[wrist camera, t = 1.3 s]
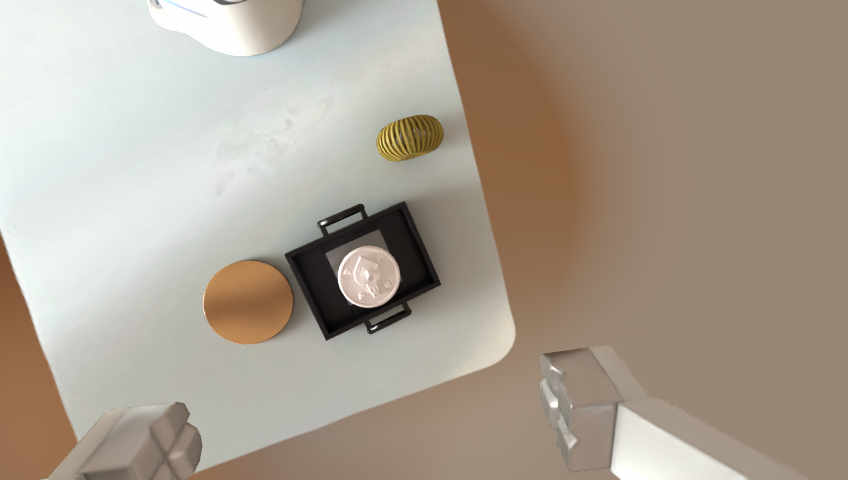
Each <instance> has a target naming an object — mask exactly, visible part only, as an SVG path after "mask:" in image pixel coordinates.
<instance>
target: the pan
mask: <svg viewBox="0 0 848 480" xmlns="http://www.w3.org/2000/svg"><path fill="white" fill-rule="evenodd" d="M359 212H360V214H361V216H362V218H363V219H362V220H360V221H357V222H355V223H353V224H351V225H348V226H346V227H344V228H342V229H339V230H337V231H335V232H332V233H330V234H328V232H327V230H326V228H325V227H327V226H329V225H331V224H333V223H336V222H338V221H340V220H343V219H345V218H347V217H350V216H352V215H354V214H356V213H359ZM317 226H318V228H320V230H321V232H322V234H323V237H321V238H319V239H317V240H314V241H312V242H310V243H308V244H305V245H303V246H301V247H298V248H296V249H294V250H292V251H289V252H287V253H286V254H284V255H285V257H286V259H287V261H288V263H289V265H290V268H291V270H292V272H293V274H294V276H295V278H296V280H297V282H298V284H299V286H300V288H301V290H302V292H303V294H304V296H305V298H306V300H307V302H308V304H309V306H310V308H311V310H312V313H313V315H314V317H315V319H316V321H317V323H318V325H319V327H320V329H321V331H322V333H323V335H324V337H325V339H326V341H327V340H329V339H331V338H333V337H335V336H337V335H339V334H341V333H343V332H345V331H347V330H349V329H352V328H354V327H356V326H358V325H360V324H362V323H365V325H366V327H367V332H368V333H369V334H373V333H375V332H377V331H379V330H381V329H383V328H385V327H387V326H389V325H391V324H393V323H395V322H397V321H399V320H401V319H403V318H405V317H407V316H409V315H411V313H412V311H411V309H409V307H408V304H407V301H409V300H411V299H413V298H415V297H417V296H419V295H421V294H423V293H425V292H427V291H429V290H431V289H433V288H435V287H437V286H440V285H441V282H440V280H439V278H438V276H437V273H436V271H435V269H434V266H433V264H432V262H431V260H430V257H429V255H428V253H427V250H426V248H425V246H424V244H423V241H422V239H421V237H420V235H419V232H418V230H417V228H416V225H415V223H414V221H413V219H412V216H411V214H410V212H409V209H408V207H407V205H406V203H405V201H404V202H401V203H398V204H396V205H394V206H391V207H389V208H387V209H385V210H382V211H380V212H378V213H376V214H373V215H371V216H369V217H368V216H367V214H366V212H365V210H364V205H363V204H358V205H356V206H353V207H351V208H349V209H346V210H344V211H342V212H339V213H337V214H335V215H332V216H330V217H328V218H326V219H323V220H321V221H319V222H318V223H317ZM377 229H380V231H381V233H382V236H383V238H384V240H385V242H386V244H387V247H388V249H389V251H390V253H391V255H392V256H393V257H394V259H395V261H396V262H397V265H398V267H399V271H400V275H401V278H402V280H403V281H401V282H399V286H398V289H397V291H396V293H395V294H394V295H393V297H392V298H391V299H390V300H389V301H387V302H386V303H384V304H382V305H380V306H377V307H371V308H366V307H360V306H357V305H355V304H353V305H351V306H349V304H348V301H347V299H346V297H345V296H344V294H343V293H342V291H341V289H340V286H339V282H338V280H337V278H336V276H335V274H334V272H333V270H332V268H331V266H330V263H329V261H328V259H327V257H326V255H325V253H326V252H328V251H330V250H332V249H335V248H337V247H339V246H341V245H344V244H346V243H348V242H350V241H353V240H355V239H357V238H359V237H361V236H364V235H366V234H368V233H370V232H373V231H375V230H377ZM401 304H402V306H403V308H404V310H403V311H401V312H399V313H397V314H395V315H393V316H391V317H389V318H387V319H385V320H382V321H380V322H378V323H376V324H374V325H372V326H371V323H370V321H369V320H370V319H372V318H374V317H376V316H378V315H380V314H382V313H384V312H386V311H388V310H390V309H392V308H394V307H397V306H399V305H401Z"/></svg>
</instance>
